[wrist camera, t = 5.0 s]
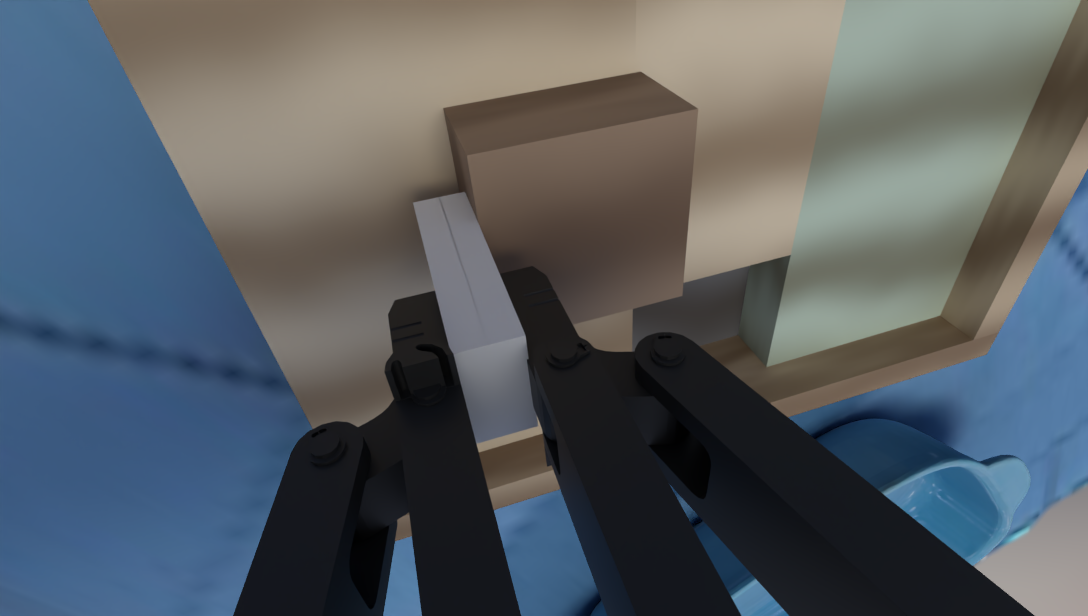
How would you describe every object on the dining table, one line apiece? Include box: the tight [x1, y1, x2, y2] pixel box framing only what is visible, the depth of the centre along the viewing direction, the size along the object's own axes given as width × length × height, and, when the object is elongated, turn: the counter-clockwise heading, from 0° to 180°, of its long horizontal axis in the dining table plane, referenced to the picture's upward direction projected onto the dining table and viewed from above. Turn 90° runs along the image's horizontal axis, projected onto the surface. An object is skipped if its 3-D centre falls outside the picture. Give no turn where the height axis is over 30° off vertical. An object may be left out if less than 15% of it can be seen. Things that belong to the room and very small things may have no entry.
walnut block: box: [443, 72, 698, 325], centre depth 17 cm, size 6×6×4 cm
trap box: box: [88, 0, 1088, 541], centre depth 20 cm, size 27×32×5 cm
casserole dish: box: [590, 419, 1031, 616], centre depth 44 cm, size 37×22×7 cm, turn 133°
